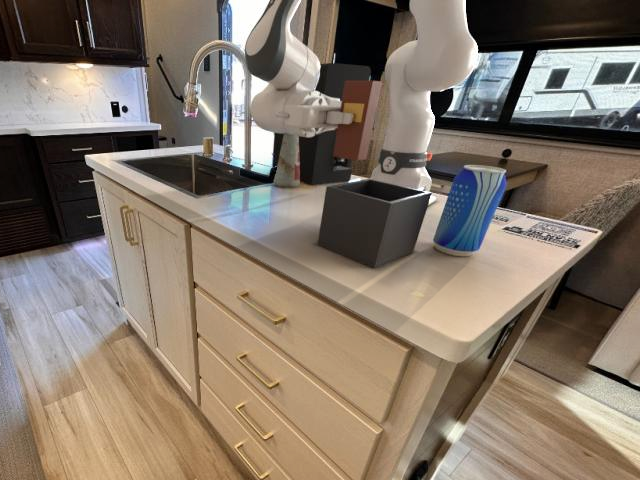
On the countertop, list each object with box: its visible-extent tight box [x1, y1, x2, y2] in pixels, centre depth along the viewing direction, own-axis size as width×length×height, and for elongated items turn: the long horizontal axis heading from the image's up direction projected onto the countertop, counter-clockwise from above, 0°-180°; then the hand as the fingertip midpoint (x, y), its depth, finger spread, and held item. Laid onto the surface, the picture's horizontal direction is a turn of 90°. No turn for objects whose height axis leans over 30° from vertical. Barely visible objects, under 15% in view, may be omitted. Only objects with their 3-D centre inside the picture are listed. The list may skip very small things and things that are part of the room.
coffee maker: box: [271, 62, 371, 186], centre depth 118 cm, size 28×20×35 cm
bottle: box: [273, 133, 301, 189], centre depth 108 cm, size 9×9×28 cm
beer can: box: [432, 164, 508, 257], centre depth 66 cm, size 8×8×16 cm
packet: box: [333, 80, 383, 161], centre depth 65 cm, size 3×6×13 cm, turn 37°
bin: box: [317, 178, 433, 269], centre depth 66 cm, size 14×14×12 cm
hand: (360, 118), depth 64 cm, fingers closed on packet, 3 cm apart
